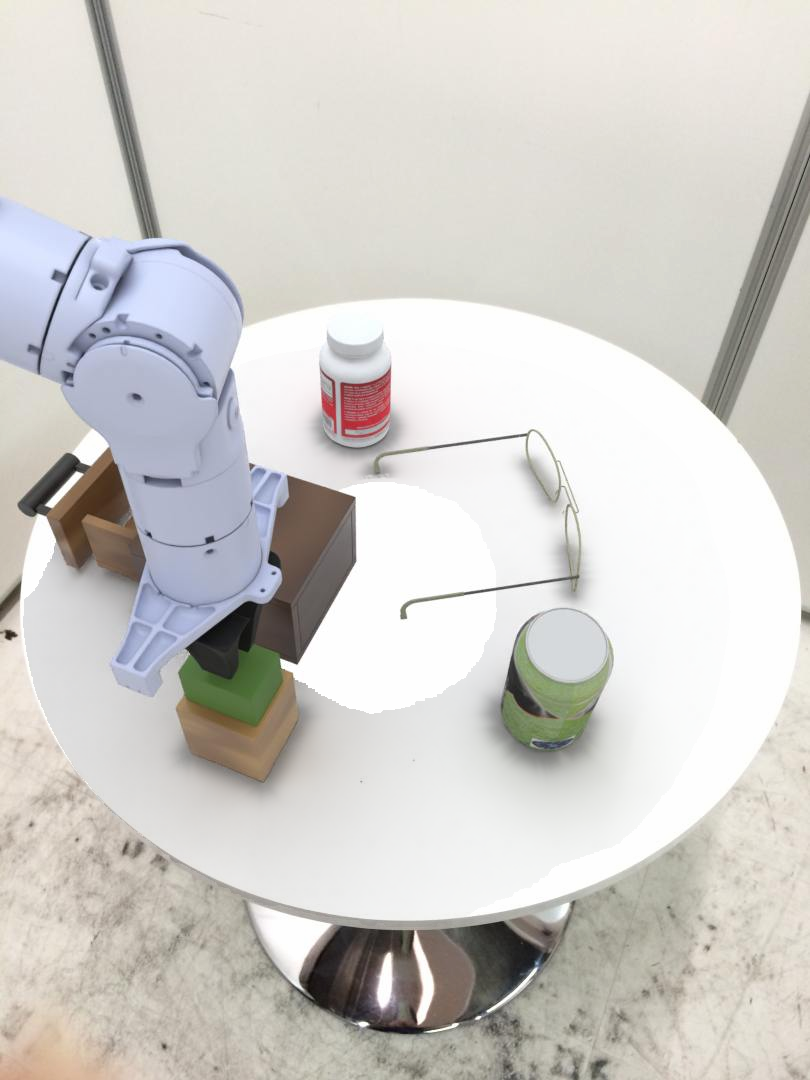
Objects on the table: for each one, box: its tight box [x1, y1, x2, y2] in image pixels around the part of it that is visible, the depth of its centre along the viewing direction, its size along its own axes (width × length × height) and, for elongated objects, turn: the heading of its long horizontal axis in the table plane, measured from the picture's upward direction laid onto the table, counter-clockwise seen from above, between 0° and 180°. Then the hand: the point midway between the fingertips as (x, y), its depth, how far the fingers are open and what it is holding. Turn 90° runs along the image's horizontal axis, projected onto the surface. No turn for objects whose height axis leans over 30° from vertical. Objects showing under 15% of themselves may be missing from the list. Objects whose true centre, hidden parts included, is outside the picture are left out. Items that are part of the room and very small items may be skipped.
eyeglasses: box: [373, 428, 582, 621], centre depth 70 cm, size 16×15×5 cm
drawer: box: [16, 446, 140, 583], centre depth 67 cm, size 16×9×6 cm, turn 68°
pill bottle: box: [318, 310, 392, 448], centre depth 76 cm, size 6×6×11 cm
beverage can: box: [500, 606, 615, 751], centre depth 56 cm, size 6×7×12 cm
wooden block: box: [175, 667, 299, 783], centre depth 57 cm, size 6×5×6 cm
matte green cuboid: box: [177, 644, 283, 727], centre depth 54 cm, size 5×4×3 cm
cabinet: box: [128, 462, 357, 666], centre depth 65 cm, size 13×11×8 cm
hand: (227, 656), depth 52 cm, fingers closed
